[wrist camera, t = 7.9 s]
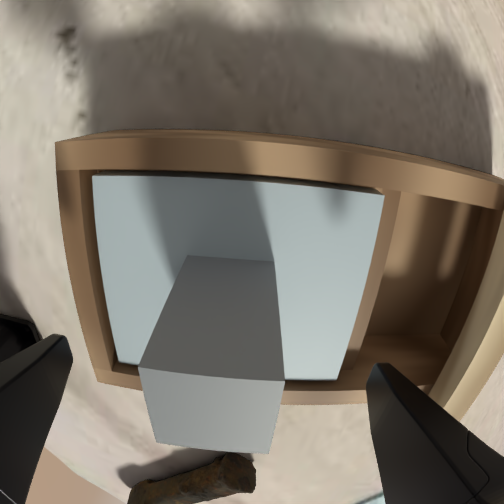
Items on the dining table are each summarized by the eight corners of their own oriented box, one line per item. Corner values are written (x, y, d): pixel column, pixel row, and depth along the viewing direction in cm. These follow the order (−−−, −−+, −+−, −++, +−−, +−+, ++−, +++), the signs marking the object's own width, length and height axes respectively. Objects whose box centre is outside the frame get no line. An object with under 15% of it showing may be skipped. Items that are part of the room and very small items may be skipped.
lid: (125, 348, 14) (76, 458, 8) (104, 170, 11) (-17, 234, 5) (332, 365, 14) (359, 485, 8) (374, 188, 11) (478, 271, 5)
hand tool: (228, 443, 24) (224, 490, 19) (259, 461, 25) (258, 504, 20) (114, 477, 29) (105, 507, 25) (140, 491, 30) (133, 520, 26)
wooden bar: (388, 455, 16) (393, 473, 14) (506, 199, 9) (530, 212, 8) (414, 450, 16) (420, 468, 14) (534, 207, 9) (556, 219, 8)
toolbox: (128, 323, 18) (97, 381, 14) (112, 130, 14) (55, 142, 9) (441, 338, 18) (473, 389, 14) (492, 174, 14) (552, 201, 9)
